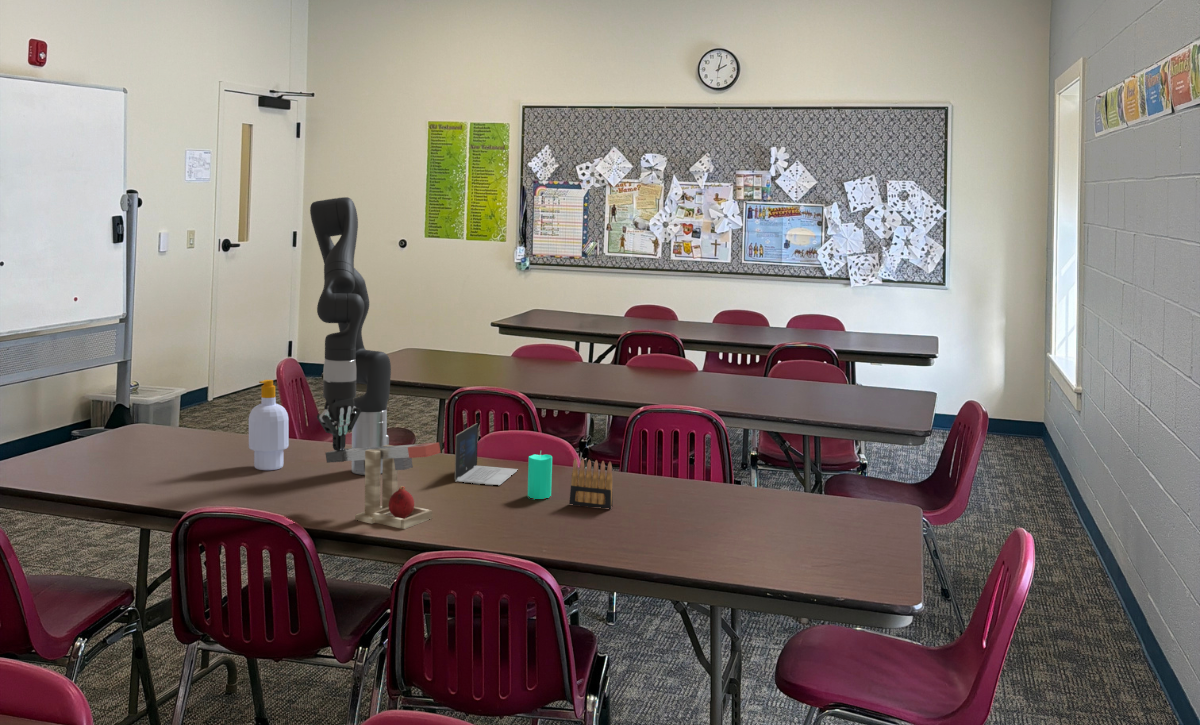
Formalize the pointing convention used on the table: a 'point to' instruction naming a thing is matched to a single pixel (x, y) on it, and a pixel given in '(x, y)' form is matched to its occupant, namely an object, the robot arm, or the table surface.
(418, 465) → the table surface
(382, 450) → the lever
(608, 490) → the ammunition clip
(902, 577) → the table surface
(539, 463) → the candle
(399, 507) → the onion
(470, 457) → the laptop
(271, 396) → the soap bottle
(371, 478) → the press stand
